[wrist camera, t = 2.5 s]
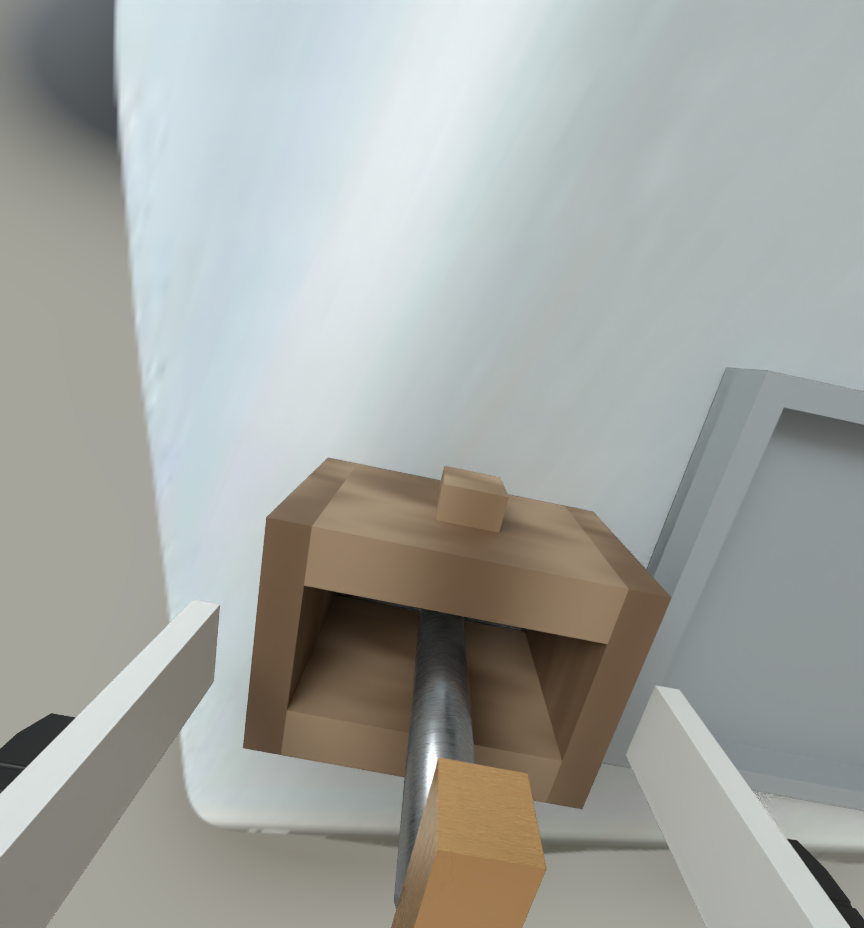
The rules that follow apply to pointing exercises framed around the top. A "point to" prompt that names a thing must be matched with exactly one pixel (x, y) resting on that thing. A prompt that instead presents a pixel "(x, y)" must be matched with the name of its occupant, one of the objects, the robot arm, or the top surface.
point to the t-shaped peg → (459, 805)
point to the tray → (768, 588)
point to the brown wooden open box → (454, 592)
